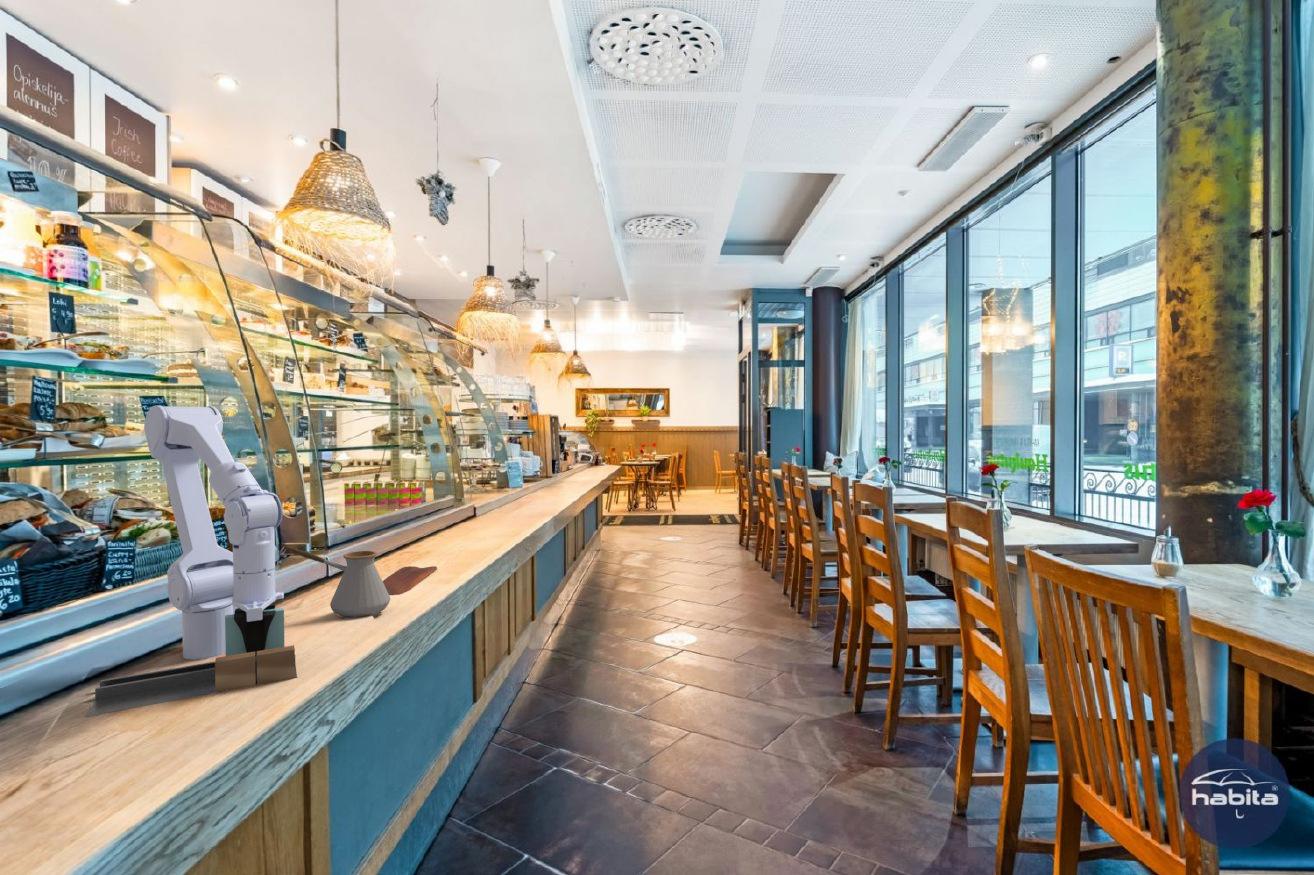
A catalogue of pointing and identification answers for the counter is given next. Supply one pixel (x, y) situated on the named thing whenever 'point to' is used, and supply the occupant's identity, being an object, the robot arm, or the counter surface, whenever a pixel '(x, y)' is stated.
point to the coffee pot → (355, 584)
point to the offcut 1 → (235, 671)
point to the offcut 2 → (275, 664)
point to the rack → (156, 688)
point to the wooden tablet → (406, 579)
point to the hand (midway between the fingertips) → (255, 652)
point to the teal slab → (236, 640)
